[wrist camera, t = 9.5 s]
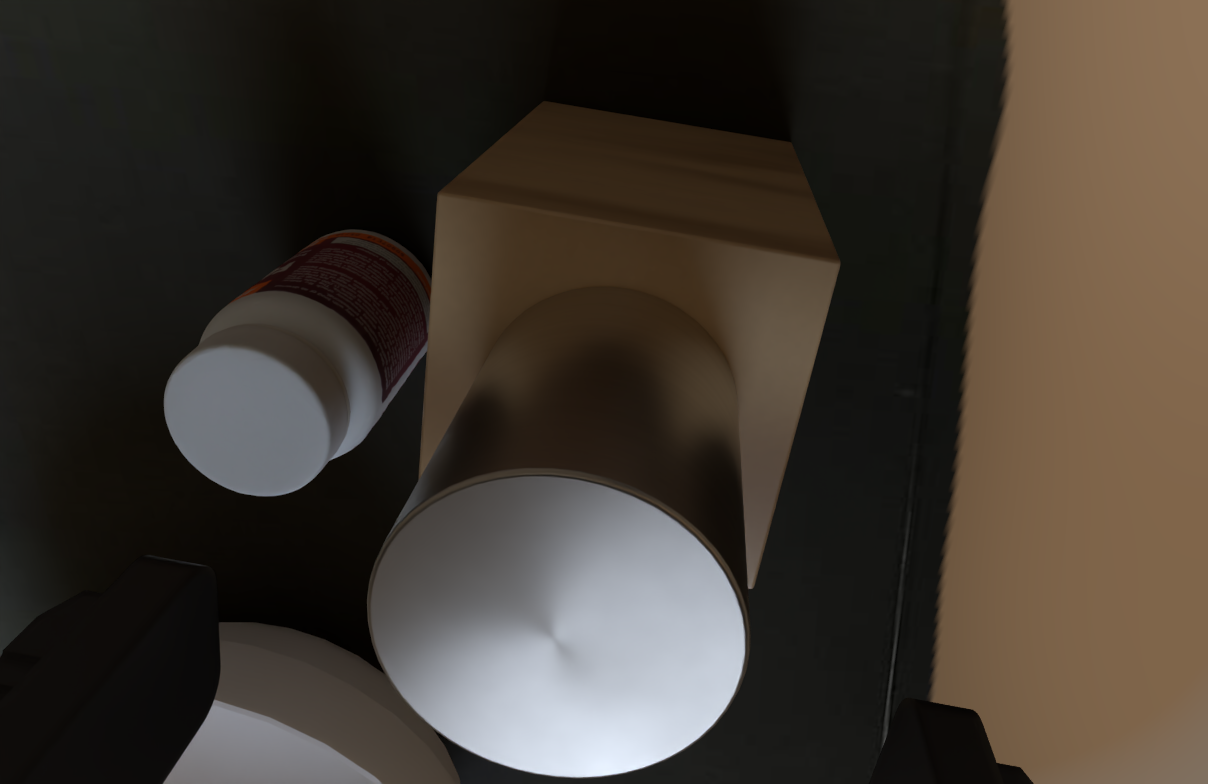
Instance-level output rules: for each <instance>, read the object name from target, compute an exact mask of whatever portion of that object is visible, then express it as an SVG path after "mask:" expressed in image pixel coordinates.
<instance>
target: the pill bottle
mask: <svg viewBox="0 0 1208 784" xmlns="http://www.w3.org/2000/svg"><path fill="white" fill-rule="evenodd" d="M431 283H432V280H431V278H430V276H429V275H428V273H427V271H426V269H425V268H424V266H423V265H422V264H421V263H420V262H419V260H418V259H417V258H416V257H415V256H414V255H413V254H412V253H411V252H410V251H408V250H407V249H406V248H405V247H403V246H401V245H400V244H398V243H397V242H395V241H394V240H392V239H390V238H388V237H386V236H384V235H381V234H379V233H376V232H371V231H366V230H355V229H350V230H342V231H338V232H334V233H330V234H327V235H325V236H323V237H321V238H319V239H317V240H316V241H314V242H313V243H311V244H310V245H309V246H307V247H306V248H304V249H302V250H301V251H300V252H299V253H297V254H296V255H295V256H293V257H292V258H290V259H289V260H287V261H286V262H285V263H283V264H282V265H280V266H279V267H278V268H276V269H275V270H273V271H272V272H271V273H270V274H268V275H267V276H266V277H265V278H263V279H262V280H261V281H259V282H258V283H257V284H255V285H253V286H252V287H251V288H249V289H248V290H246V291H245V292H244V293H243V294H242V295H240V296H239V297H237V298H236V299H234V300H233V301H232V302H231V303H229V304H228V305H227V306H226V307H224V308H223V309H222V310H221V311H220V312H218V313H217V315H216V316H215V317H214V318H213V319H212V320H211V322H210V323H209V324H208V326H207V327H206V329H205V331H204V333H203V335H202V337H201V340H200V343H199V345H198V346H197V347H196V348H195V349H194V350H193V351H192V352H190V353H189V354H188V355H187V356H186V357H185V358H184V359H182V360H181V362H180V363H179V364H178V365H177V366H176V367H175V369H174V370H173V372H172V374H171V376H170V378H169V380H168V382H167V385H166V389H165V394H164V413H165V418H166V423H167V426H168V428H169V431H170V434H171V436H172V438H173V440H174V442H175V444H176V445H177V446H178V448H179V449H180V451H181V452H182V454H183V455H184V456H185V457H186V459H187V460H188V461H189V462H190V463H191V464H192V465H193V466H194V467H195V468H196V469H198V470H199V471H200V472H201V473H202V474H204V475H205V476H206V477H208V478H209V479H211V480H212V481H214V482H216V483H218V484H220V485H222V486H224V487H226V488H228V489H231V490H233V491H236V492H238V493H243V494H248V495H255V496H277V495H283V494H287V493H290V492H293V491H296V490H298V489H300V488H302V487H303V486H305V485H306V484H308V483H309V482H310V481H312V480H313V479H314V478H315V477H316V476H317V475H318V474H319V472H320V471H321V470H322V469H323V468H324V466H325V465H326V464H327V463H328V462H329V460H331V459H334V458H337V457H339V456H341V455H343V454H345V453H347V452H349V451H351V450H352V449H354V448H355V447H356V446H357V445H359V444H360V443H361V442H362V441H363V440H364V439H365V438H366V436H367V435H368V434H369V432H370V430H371V429H372V428H373V427H374V425H375V424H376V423H377V422H378V420H379V419H380V417H381V415H382V414H383V412H384V411H385V410H386V408H387V406H388V405H389V403H390V402H391V401H392V399H393V397H394V396H395V395H396V393H397V392H398V390H399V389H400V388H401V387H402V385H403V384H404V382H405V381H406V379H407V378H408V376H409V375H410V374H411V372H412V370H413V369H414V367H415V366H416V365H417V364H418V362H419V361H420V359H421V358H422V357H423V355H424V354H425V353H426V351H427V343H428V328H429V313H430V298H431Z"/></svg>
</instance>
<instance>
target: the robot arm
mask: <svg viewBox="0 0 1208 784" xmlns="http://www.w3.org/2000/svg"><path fill="white" fill-rule="evenodd" d="M220 670H221V661H220V639H219V616H218V594H217V579H216V575H215V572H214V570H213V569H212V568H211V567H209V566H205V565H200V564H194V563H189V562H184V561H178V560H173V559H167V558H162V557H157V556H151V555H144V556H141V557H140V558H138V559H136V560H135V561H134V562H133V563H132V564H131V565H130V566H129V567H128V568H127V569H126V570H125V571H124V572H123V574H122V575H121V576H120V577H119V578H118V579H117V580H116V581H115V582H114V583H113V584H112V585H111V586H110V587H109V588H108V589H107V590H106V591H105V592H104V593H103V594H102V593H97V592H92V591H86V590H85V591H83V592H81V593H80V594H78V595H76V596H74V597H72V598H70V599H69V600H67V601H65V602H63V603H61V604H59V605H57V606H56V607H54V608H52V609H50V610H48V611H46V612H45V613H43V614H41V615H39V616H38V617H36V618H35V619H34V620H33V621H32V622H31V623H30V624H29V625H28V626H27V627H26V628H25V629H24V630H23V631H22V632H21V633H20V634H19V635H18V636H17V637H16V638H15V639H14V640H13V641H12V642H11V643H10V644H9V645H8V646H7V647H6V648H5V649H4V650H3V653H2V656H1V657H0V784H163V783H164V781H165V780H166V778H167V777H168V775H169V774H170V772H171V771H172V769H173V768H174V766H175V765H176V763H177V762H178V760H179V759H180V757H181V756H182V754H183V753H184V751H185V750H186V748H187V747H188V745H189V744H190V742H191V741H192V739H193V738H194V736H195V735H196V733H197V732H198V730H199V729H200V727H201V726H202V724H203V722H204V721H205V719H206V717H207V715H208V713H209V711H210V709H211V707H212V704H213V701H214V699H215V695H216V692H217V688H218V684H219V679H220ZM869 784H1033V782H1032V781H1031V780H1030V779H1029V777H1028V776H1027V775H1026V774H1025V773H1024V771H1023V770H1022V769H1021V768H1020V767H1016V766H1010V765H1005V764H999V763H996V760H995V757H994V754H993V752H992V749H991V746H990V743H989V740H988V737H987V735H986V732H985V729H984V726H983V724H982V721H981V719H980V717H979V715H978V714H977V713H976V712H975V711H974V710H971V709H966V708H960V707H955V706H950V705H944V704H939V703H933V702H928V701H923V700H917V699H912V698H906V699H904V700H903V701H902V702H901V703H900V705H899V707H898V709H897V711H896V714H895V716H894V719H893V722H892V724H891V727H890V730H889V732H888V735H887V738H886V740H885V743H884V745H883V748H882V751H881V753H880V756H879V759H878V761H877V764H876V767H875V769H874V772H873V775H872V777H871V780H870V783H869Z"/></svg>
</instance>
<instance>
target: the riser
mask: <svg viewBox="0 0 1208 784" xmlns="http://www.w3.org/2000/svg"><path fill="white" fill-rule="evenodd" d="M839 268H840V260H839V257H838V255H837V252H836V250H835V248H834V245H833V243H832V240H831V238H830V235H829V233H828V230H827V228H826V226H825V223H824V221H823V218H822V216H821V213H820V211H819V209H818V206H817V204H816V201H815V199H814V196H813V194H812V192H811V189H810V187H809V184H808V182H807V179H806V177H805V174H804V172H803V170H802V167H801V165H800V162H799V160H798V157H797V155H796V153H795V150H794V148H793V145H792V143H791V142H787V141H781V140H775V139H769V138H763V137H757V136H751V135H745V134H739V133H733V132H727V131H721V130H715V129H709V128H703V127H697V126H691V125H685V124H679V123H673V122H667V121H661V120H655V119H649V118H643V117H637V116H631V115H625V114H619V113H613V112H607V111H601V110H595V109H589V108H583V107H577V106H572V105H566V104H560V103H554V102H548V101H543V102H542V103H541V104H539V105H538V106H537V107H536V108H535V109H534V110H533V111H531V112H530V113H529V114H528V115H527V116H526V117H525V118H523V119H522V120H521V121H520V122H519V123H518V124H516V125H515V126H514V127H513V128H512V129H511V130H510V131H508V132H507V133H506V134H505V135H504V136H503V137H502V138H500V139H499V140H498V141H497V142H496V143H495V144H494V145H492V146H491V147H490V148H489V149H488V150H487V151H485V152H484V153H483V154H482V155H481V156H480V157H479V158H477V159H476V160H475V161H474V162H473V163H472V164H471V165H469V166H468V167H467V168H466V169H465V170H464V171H463V172H461V173H460V174H459V175H458V176H457V177H456V178H455V179H453V180H452V181H451V182H450V183H449V184H448V185H446V186H445V187H444V188H443V189H442V190H441V191H440V192H439V193H438V195H437V207H436V222H435V237H434V252H433V268H432V283H431V298H430V313H429V328H428V343H427V358H426V374H425V389H424V404H423V419H422V434H421V449H420V465H419V479H420V477H421V475H422V474H423V472H424V470H425V468H426V467H427V465H428V463H429V461H430V459H431V458H432V456H433V454H434V452H435V450H436V449H437V447H438V445H439V443H440V441H441V440H442V438H443V436H444V434H445V433H446V431H447V429H448V427H449V425H450V424H451V422H452V420H453V418H454V416H455V415H456V413H457V411H458V409H459V407H460V406H461V404H462V402H463V400H464V398H465V397H466V395H467V393H468V391H469V390H470V388H471V386H472V384H473V382H474V381H475V379H476V377H477V375H478V373H479V372H480V370H481V368H482V366H483V364H484V363H485V361H486V359H487V357H488V356H489V354H490V352H491V350H492V348H493V347H494V345H495V343H496V342H497V340H498V339H499V337H500V336H501V335H502V333H503V332H504V330H505V329H506V328H507V327H508V326H509V325H510V324H511V323H512V322H513V321H514V320H515V319H516V318H517V317H518V316H520V315H521V314H522V313H523V312H525V311H526V310H527V309H529V308H530V307H532V306H534V305H535V304H537V303H539V302H540V301H542V300H545V299H547V298H549V297H552V296H554V295H556V294H559V293H563V292H566V291H570V290H574V289H580V288H587V287H618V288H627V289H632V290H636V291H640V292H644V293H647V294H650V295H652V296H655V297H658V298H660V299H663V300H665V301H667V302H668V303H670V304H672V305H674V306H676V307H678V308H679V309H681V310H682V311H684V312H685V313H686V314H688V315H689V316H691V317H692V318H693V319H694V320H695V321H696V322H698V323H699V324H700V325H701V326H702V327H703V328H704V329H705V330H706V331H707V332H708V334H709V335H710V336H711V337H712V338H713V339H714V341H715V342H716V343H717V345H718V347H719V348H720V350H721V351H722V353H723V354H724V356H725V358H726V360H727V363H728V365H729V367H730V369H731V372H732V375H733V379H734V382H735V386H736V392H737V399H738V413H739V432H740V450H741V468H742V487H743V505H744V524H745V542H746V561H747V579H748V589H753V587H754V585H755V581H756V578H757V574H758V570H759V567H760V563H761V559H762V555H763V552H764V548H765V544H766V540H767V537H768V533H769V529H770V526H771V522H772V518H773V514H774V511H775V507H776V503H777V499H778V496H779V492H780V488H781V484H782V481H783V477H784V473H785V470H786V466H787V462H788V458H789V455H790V451H791V447H792V443H793V440H794V436H795V432H796V429H797V425H798V421H799V417H800V414H801V410H802V406H803V402H804V399H805V395H806V391H807V387H808V384H809V380H810V376H811V373H812V369H813V365H814V361H815V358H816V354H817V350H818V346H819V343H820V339H821V335H822V332H823V328H824V324H825V320H826V317H827V313H828V309H829V305H830V302H831V298H832V294H833V290H834V287H835V283H836V279H837V276H838V272H839ZM418 481H419V480H418Z"/></svg>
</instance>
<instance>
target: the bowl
mask: <svg viewBox="0 0 1208 784" xmlns="http://www.w3.org/2000/svg"><path fill="white" fill-rule="evenodd" d="M219 639H220V661H221V670H220V679H219V684H218V688H217V692H216V695H215V699H214V701H213V704H212V707H211V709H210V711H209V713H208V715H207V717H206V719H205V721H204V722H203V724H202V726H201V727H200V729H199V730H198V732H197V733H196V735H195V736H194V738H193V739H192V741H191V742H190V744H189V745H188V747H187V748H186V750H185V751H184V753H183V754H182V756H181V757H180V759H179V760H178V762H177V763H176V765H175V766H174V768H173V769H172V771H171V772H170V774H169V775H168V777H167V778H166V780H165V781H164V783H163V784H460V779H459V776H458V774H457V771H456V769H455V767H454V765H453V763H452V761H451V758H450V756H449V754H448V752H447V750H446V747H445V746H444V744H443V743H442V741H441V740H440V739H439V737H438V736H437V734H436V733H435V731H434V730H433V729H432V728H431V727H430V726H429V725H428V724H426V723H425V722H424V721H423V720H422V719H421V718H420V717H419V716H418V715H416V714H415V713H414V712H413V711H412V709H411V708H410V707H409V706H408V705H407V704H406V703H405V702H404V700H403V699H402V698H401V697H400V696H399V694H398V693H397V691H396V690H395V689H394V687H393V686H392V684H391V683H390V681H389V680H388V678H387V676H386V675H385V674H383V673H382V672H381V671H379V670H378V669H376V668H375V667H373V666H372V665H370V664H369V663H368V662H366V661H365V660H363V659H362V658H360V657H359V656H357V655H355V654H353V653H351V652H349V651H347V650H345V649H343V648H341V647H339V646H337V645H335V644H333V643H331V642H329V641H327V640H325V639H322V638H319V637H316V636H313V635H309V634H306V633H303V632H300V631H297V630H294V629H291V628H286V627H280V626H274V625H268V624H261V623H255V622H219Z"/></svg>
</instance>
